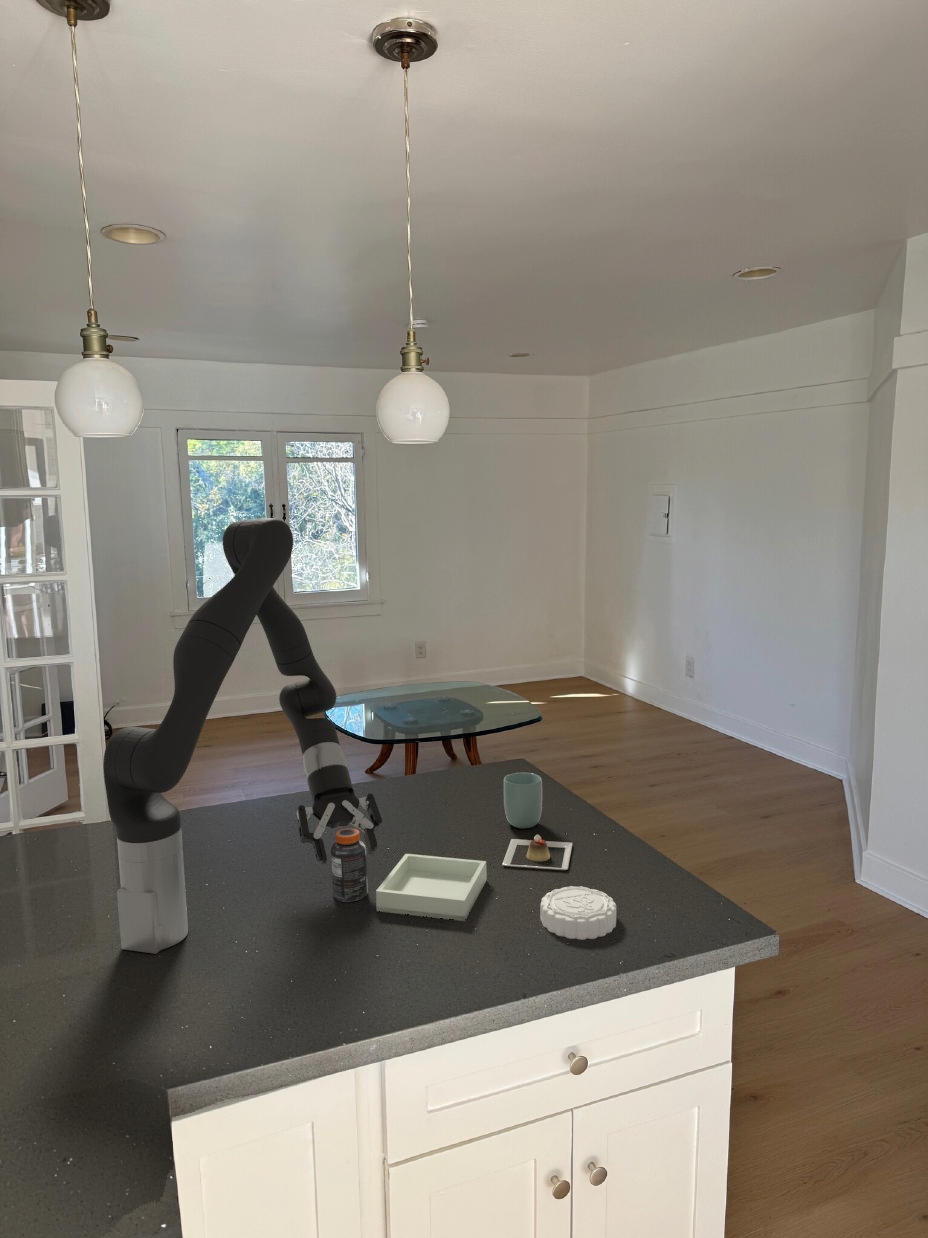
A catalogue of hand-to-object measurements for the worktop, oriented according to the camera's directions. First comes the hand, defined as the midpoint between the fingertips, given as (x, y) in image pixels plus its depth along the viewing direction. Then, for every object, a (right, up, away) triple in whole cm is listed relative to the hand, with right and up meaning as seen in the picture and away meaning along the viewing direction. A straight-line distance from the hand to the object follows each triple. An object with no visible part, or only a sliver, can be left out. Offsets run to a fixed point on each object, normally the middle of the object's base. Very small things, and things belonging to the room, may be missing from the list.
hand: (348, 857), depth 141 cm
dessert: (+34, -5, +15) cm, 37 cm away
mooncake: (+38, -8, -9) cm, 40 cm away
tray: (+15, -6, 0) cm, 16 cm away
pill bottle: (0, -7, +1) cm, 7 cm away
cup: (+32, -2, +30) cm, 44 cm away
